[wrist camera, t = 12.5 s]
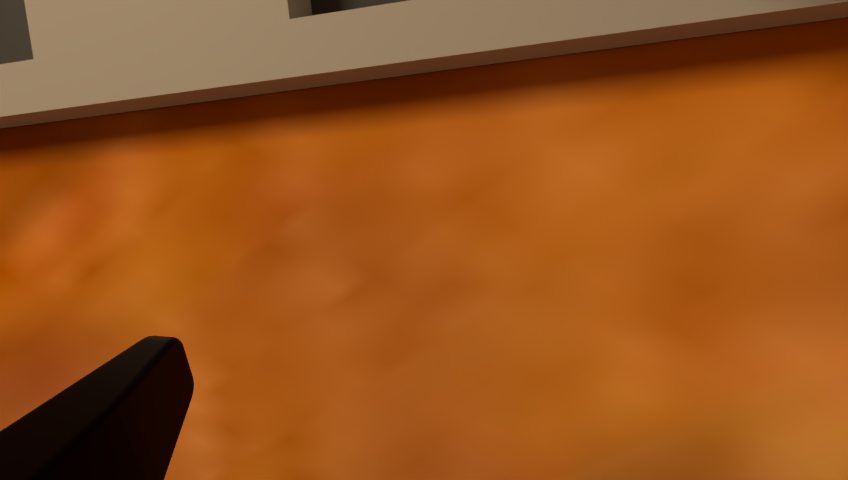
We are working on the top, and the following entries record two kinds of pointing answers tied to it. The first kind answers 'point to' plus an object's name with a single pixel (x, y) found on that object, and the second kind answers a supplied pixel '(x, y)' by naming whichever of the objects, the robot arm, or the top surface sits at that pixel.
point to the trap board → (316, 43)
